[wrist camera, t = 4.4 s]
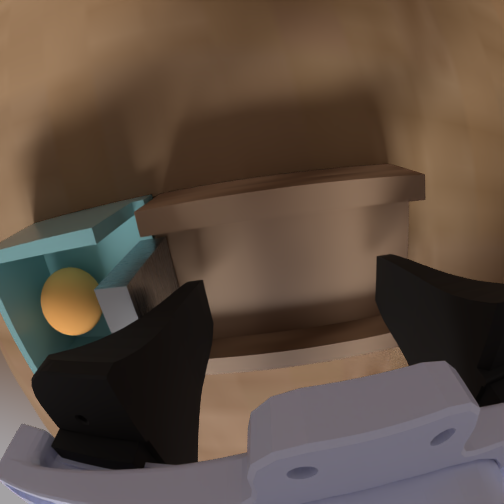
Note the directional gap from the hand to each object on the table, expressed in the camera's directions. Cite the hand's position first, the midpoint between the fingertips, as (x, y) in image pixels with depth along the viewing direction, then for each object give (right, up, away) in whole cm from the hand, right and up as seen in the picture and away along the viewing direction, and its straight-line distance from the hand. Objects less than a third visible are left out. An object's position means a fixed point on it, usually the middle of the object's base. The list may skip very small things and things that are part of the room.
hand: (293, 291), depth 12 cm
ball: (-11, -1, +2) cm, 11 cm away
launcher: (0, +1, +3) cm, 4 cm away
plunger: (-5, 0, +2) cm, 6 cm away
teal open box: (-10, 0, +4) cm, 11 cm away
